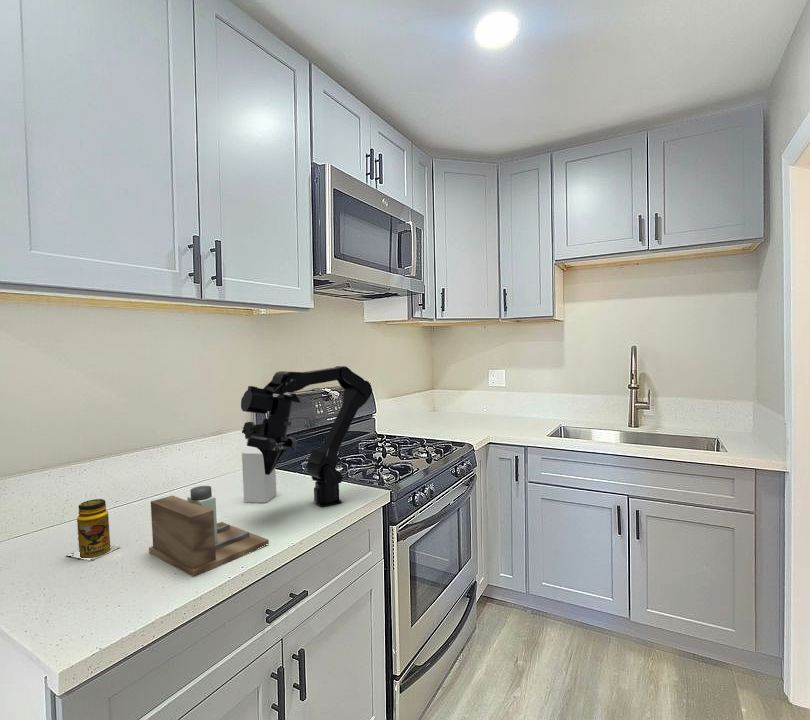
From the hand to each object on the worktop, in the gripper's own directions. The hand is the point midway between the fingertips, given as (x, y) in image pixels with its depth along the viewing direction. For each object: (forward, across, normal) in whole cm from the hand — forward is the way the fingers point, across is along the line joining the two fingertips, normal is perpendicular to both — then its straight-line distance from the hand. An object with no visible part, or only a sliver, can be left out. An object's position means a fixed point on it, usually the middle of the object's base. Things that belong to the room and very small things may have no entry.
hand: (267, 474), depth 126 cm
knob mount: (+17, +16, -4) cm, 23 cm away
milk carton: (+10, -18, -9) cm, 23 cm away
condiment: (+22, +19, -30) cm, 42 cm away
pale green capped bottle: (+16, +17, -4) cm, 23 cm away
